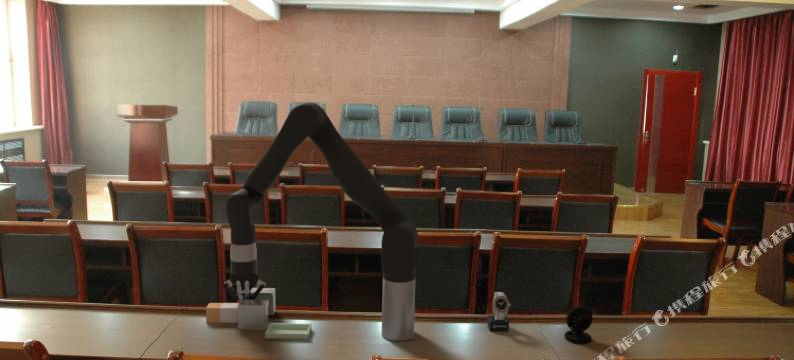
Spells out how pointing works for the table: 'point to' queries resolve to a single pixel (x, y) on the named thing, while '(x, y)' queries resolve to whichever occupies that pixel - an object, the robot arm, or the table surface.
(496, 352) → the table surface
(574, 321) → the webcam
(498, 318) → the watch
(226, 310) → the two-tone eraser block
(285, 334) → the tray
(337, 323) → the table surface
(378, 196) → the robot arm
